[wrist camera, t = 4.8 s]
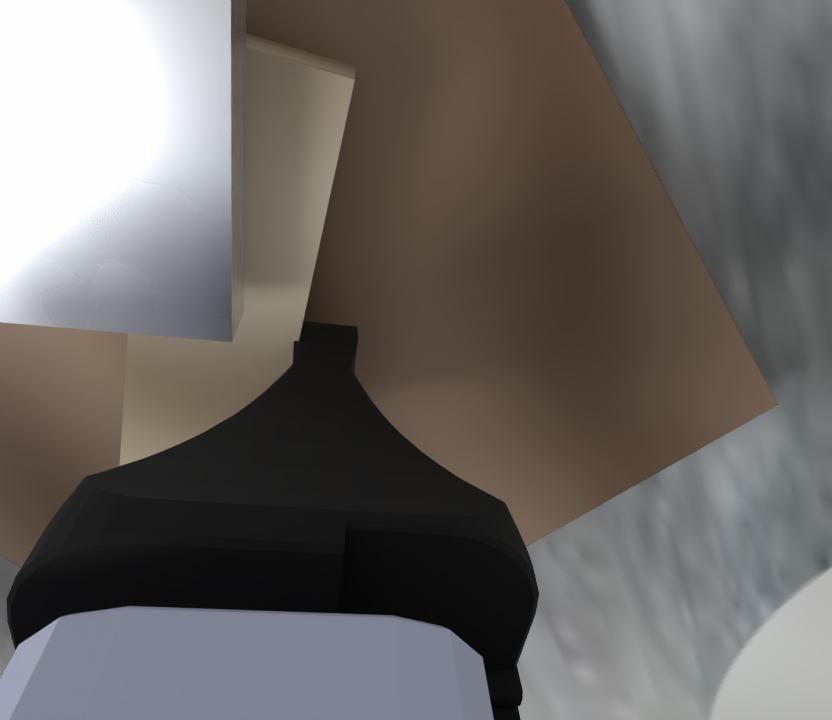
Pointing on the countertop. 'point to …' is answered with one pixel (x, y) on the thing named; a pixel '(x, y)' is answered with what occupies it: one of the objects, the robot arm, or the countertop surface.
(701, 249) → the countertop surface
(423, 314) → the wooden cutting board
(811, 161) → the countertop surface
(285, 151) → the link
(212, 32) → the keeper
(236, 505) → the robot arm
